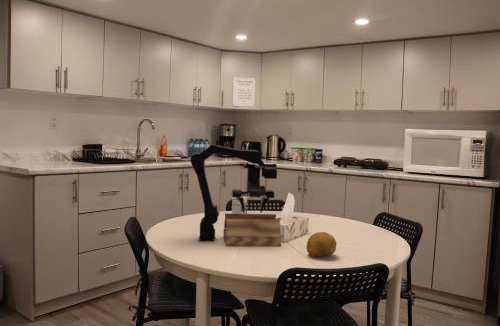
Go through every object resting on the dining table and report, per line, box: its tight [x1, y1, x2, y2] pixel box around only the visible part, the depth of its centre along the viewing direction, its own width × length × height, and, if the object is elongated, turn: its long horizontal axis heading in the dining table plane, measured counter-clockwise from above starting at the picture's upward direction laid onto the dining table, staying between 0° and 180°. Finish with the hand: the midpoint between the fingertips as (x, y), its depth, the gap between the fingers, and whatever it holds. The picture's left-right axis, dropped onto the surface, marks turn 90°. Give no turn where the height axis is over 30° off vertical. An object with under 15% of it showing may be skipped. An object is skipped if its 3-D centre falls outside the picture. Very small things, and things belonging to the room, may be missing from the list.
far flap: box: [223, 212, 277, 229], centre depth 200 cm, size 8×24×1 cm
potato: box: [306, 231, 337, 257], centre depth 176 cm, size 10×12×10 cm
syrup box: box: [231, 196, 248, 214], centre depth 226 cm, size 6×6×14 cm
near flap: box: [226, 218, 282, 238], centre depth 189 cm, size 8×24×1 cm
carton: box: [223, 228, 282, 247], centre depth 194 cm, size 24×15×4 cm, turn 98°
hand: (252, 212), depth 194 cm, fingers open, 8 cm apart
